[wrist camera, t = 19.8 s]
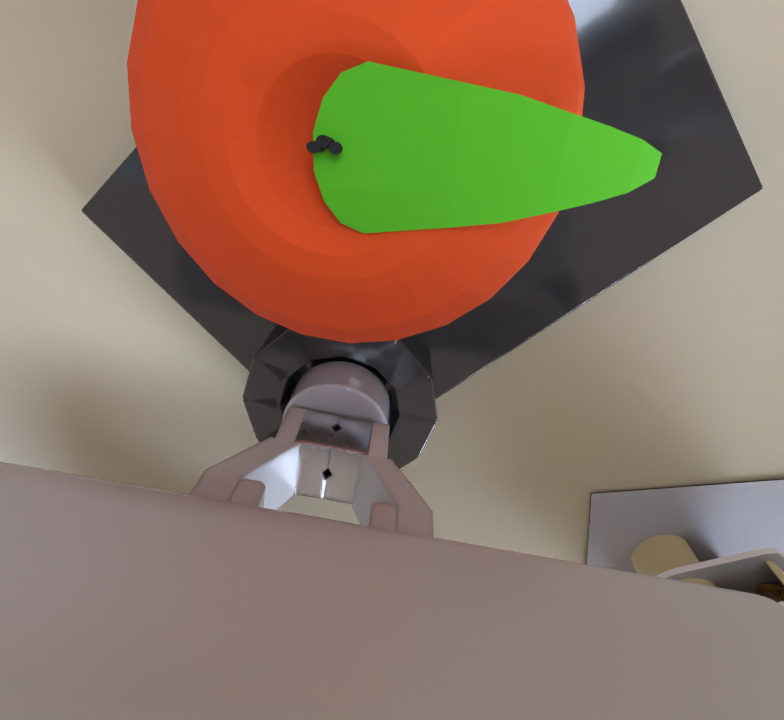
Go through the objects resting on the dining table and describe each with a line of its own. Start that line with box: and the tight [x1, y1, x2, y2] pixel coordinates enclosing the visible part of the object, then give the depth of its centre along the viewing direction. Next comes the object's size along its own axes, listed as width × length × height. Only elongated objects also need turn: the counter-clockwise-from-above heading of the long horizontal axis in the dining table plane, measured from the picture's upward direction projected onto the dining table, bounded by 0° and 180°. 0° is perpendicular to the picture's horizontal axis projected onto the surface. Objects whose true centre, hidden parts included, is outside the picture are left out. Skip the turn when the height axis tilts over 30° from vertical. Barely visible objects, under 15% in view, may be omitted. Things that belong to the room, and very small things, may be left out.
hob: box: [82, 0, 762, 469], centre depth 13 cm, size 17×13×2 cm
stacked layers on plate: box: [587, 480, 784, 607], centre depth 18 cm, size 10×9×6 cm
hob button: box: [282, 361, 390, 424], centre depth 14 cm, size 3×3×2 cm
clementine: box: [127, 0, 662, 343], centre depth 8 cm, size 8×7×7 cm
